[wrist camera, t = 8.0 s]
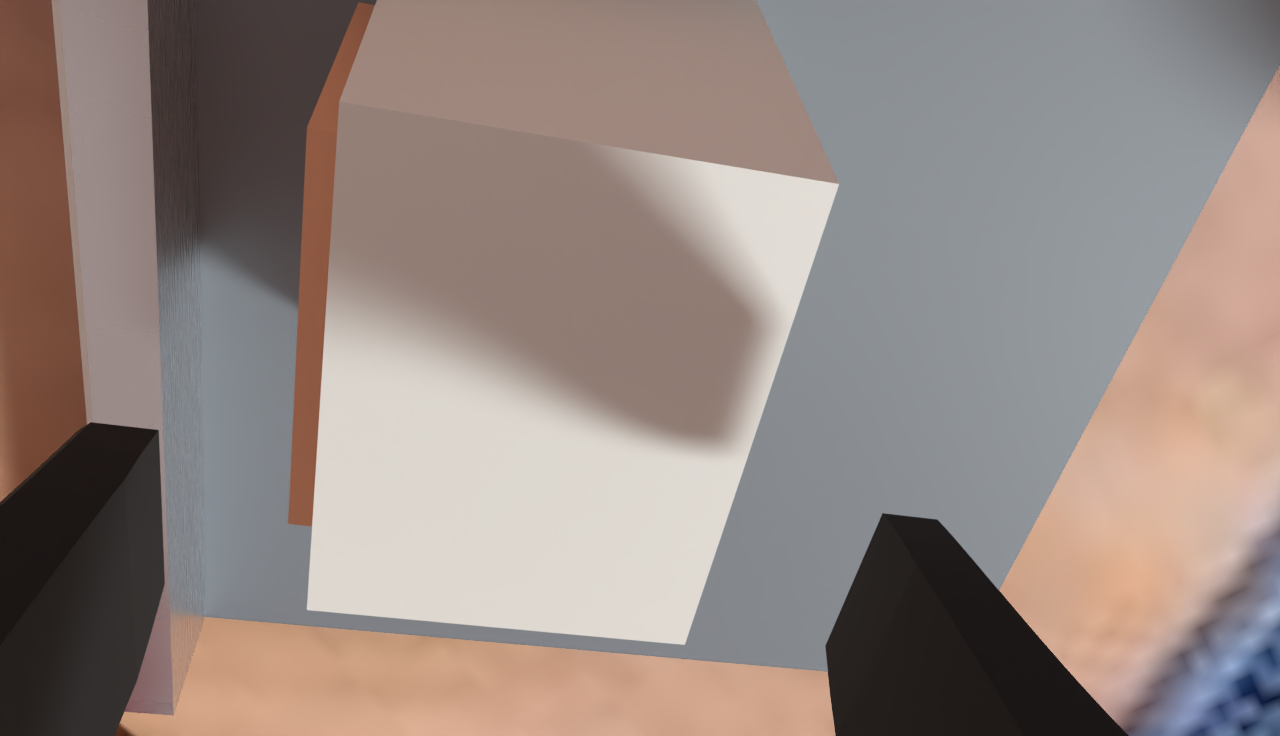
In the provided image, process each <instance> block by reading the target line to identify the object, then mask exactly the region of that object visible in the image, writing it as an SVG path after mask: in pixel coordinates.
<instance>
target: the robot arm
mask: <svg viewBox="0 0 1280 736" xmlns="http://www.w3.org/2000/svg"><path fill="white" fill-rule="evenodd" d="M164 585H165V574H164V549H163V524H162V498H161V473H160V448H159V430H154V429H146V428H137V427H128V426H120V425H111V424H102V423H94V422H90V423H89V424H87V425H86V426H84V427H83V428H81V429H80V430H78V431H77V432H76V433H75V434H74V435H73V436H72V437H71V438H70V439H69V440H68V441H67V442H65V443H64V444H63V445H62V446H61V447H60V448H59V449H58V450H57V451H56V452H55V453H54V454H53V455H51V456H50V457H49V458H48V459H47V460H46V461H45V462H44V463H43V464H42V465H41V466H40V467H39V468H37V469H36V470H35V471H34V472H33V473H32V474H31V475H30V476H29V477H28V478H27V479H26V480H24V481H23V482H22V483H21V484H20V485H19V486H18V487H17V488H16V489H15V490H13V491H12V492H11V493H10V494H9V495H8V496H7V497H6V498H4V499H3V500H2V501H1V502H0V736H114V735H115V732H116V730H117V728H118V725H119V723H120V721H121V718H122V716H123V713H124V711H125V709H126V706H127V704H128V701H129V699H130V697H131V694H132V692H133V689H134V687H135V684H136V682H137V679H138V676H139V672H140V669H141V666H142V662H143V659H144V656H145V652H146V649H147V646H148V642H149V639H150V635H151V632H152V628H153V625H154V621H155V617H156V614H157V610H158V607H159V603H160V599H161V596H162V592H163V589H164ZM825 648H826V657H827V667H828V677H829V686H830V696H831V703H832V711H833V718H834V726H835V733H836V736H1128V735H1127V734H1126V733H1125V732H1124V731H1123V730H1122V728H1121V727H1120V726H1119V725H1118V724H1117V723H1116V722H1115V721H1114V720H1113V719H1112V718H1111V717H1110V716H1109V715H1108V714H1107V713H1106V712H1105V711H1104V710H1103V709H1102V707H1101V706H1100V705H1099V704H1098V703H1097V702H1096V701H1095V700H1094V699H1093V698H1092V697H1091V696H1090V694H1089V693H1088V692H1087V691H1086V690H1085V689H1084V688H1083V687H1082V686H1081V685H1080V684H1079V682H1078V681H1077V680H1076V679H1075V678H1074V677H1073V676H1072V675H1071V673H1070V672H1069V671H1068V670H1067V669H1066V668H1065V667H1064V666H1063V664H1062V663H1061V662H1060V661H1059V660H1058V659H1057V658H1056V657H1055V655H1054V654H1053V653H1052V652H1051V651H1050V650H1049V649H1048V647H1047V646H1046V645H1045V644H1044V643H1043V642H1042V640H1041V639H1040V638H1039V637H1038V636H1037V635H1036V634H1035V632H1034V631H1033V630H1032V629H1031V628H1030V627H1029V625H1028V624H1027V623H1026V622H1025V621H1024V620H1023V618H1022V617H1021V616H1020V615H1019V614H1018V612H1017V611H1016V610H1015V609H1014V608H1013V607H1012V605H1011V604H1010V603H1009V602H1008V601H1007V599H1006V598H1005V597H1004V596H1003V595H1002V594H1001V592H1000V591H999V590H998V589H997V588H996V586H995V585H994V584H993V583H992V582H991V581H990V579H989V578H988V577H987V576H986V575H985V573H984V572H983V571H982V570H981V569H980V567H979V566H978V565H977V564H976V563H975V562H974V560H973V559H972V558H971V557H970V556H969V554H968V553H967V552H966V551H965V550H964V549H963V547H962V546H961V545H960V544H959V543H958V542H957V541H956V539H955V538H954V537H953V536H952V535H951V534H950V533H949V532H948V530H947V529H946V528H945V527H944V526H943V525H942V524H941V523H940V522H939V521H938V520H937V519H928V518H920V517H911V516H902V515H894V514H885V513H882V516H881V518H880V520H879V523H878V525H877V527H876V530H875V532H874V534H873V537H872V539H871V541H870V544H869V546H868V548H867V550H866V553H865V555H864V557H863V560H862V562H861V564H860V567H859V569H858V571H857V574H856V576H855V578H854V581H853V583H852V585H851V588H850V590H849V592H848V595H847V597H846V599H845V601H844V604H843V606H842V608H841V611H840V613H839V615H838V618H837V620H836V622H835V625H834V627H833V629H832V632H831V634H830V636H829V639H828V641H827V643H826V646H825Z"/></svg>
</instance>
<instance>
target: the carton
mask: <svg viewBox="0 0 1280 736" xmlns="http://www.w3.org/2000/svg"><path fill="white" fill-rule="evenodd" d="M838 186H839V182H838V180H837V178H836V176H835V174H834V171H833V169H832V167H831V165H830V163H829V160H828V158H827V156H826V154H825V151H824V149H823V147H822V145H821V143H820V140H819V138H818V136H817V134H816V131H815V129H814V127H813V125H812V123H811V120H810V118H809V116H808V114H807V112H806V109H805V107H804V105H803V103H802V100H801V98H800V96H799V94H798V92H797V89H796V87H795V85H794V83H793V80H792V78H791V76H790V74H789V72H788V69H787V67H786V65H785V63H784V60H783V58H782V56H781V54H780V52H779V49H778V47H777V45H776V43H775V41H774V38H773V36H772V34H771V32H770V29H769V27H768V25H767V23H766V21H765V18H764V16H763V14H762V12H761V9H760V7H759V5H758V3H757V1H756V0H377V1H376V4H375V5H371V4H365V3H360V2H358V5H357V7H356V9H355V12H354V14H353V17H352V19H351V22H350V24H349V27H348V29H347V31H346V34H345V36H344V39H343V41H342V44H341V46H340V48H339V51H338V53H337V56H336V58H335V61H334V63H333V65H332V68H331V70H330V73H329V75H328V78H327V80H326V82H325V85H324V87H323V90H322V92H321V95H320V97H319V100H318V102H317V104H316V107H315V109H314V112H313V114H312V117H311V119H310V121H309V124H308V126H307V137H306V157H305V178H304V199H303V220H302V241H301V262H300V283H299V304H298V325H297V346H296V367H295V388H294V409H293V429H292V450H291V471H290V492H289V513H288V524H293V525H302V526H312V536H311V551H310V567H309V583H308V599H307V610H312V611H323V612H333V613H344V614H355V615H366V616H377V617H388V618H398V619H409V620H420V621H431V622H442V623H453V624H463V625H474V626H485V627H496V628H507V629H518V630H528V631H539V632H550V633H561V634H572V635H583V636H593V637H604V638H615V639H626V640H637V641H648V642H658V643H669V644H680V645H685V643H686V640H687V637H688V634H689V631H690V628H691V625H692V622H693V619H694V616H695V613H696V610H697V607H698V604H699V601H700V598H701V595H702V592H703V589H704V586H705V583H706V580H707V577H708V574H709V571H710V568H711V565H712V562H713V559H714V556H715V553H716V550H717V547H718V544H719V541H720V538H721V535H722V532H723V529H724V526H725V523H726V520H727V517H728V514H729V512H730V509H731V506H732V503H733V500H734V497H735V494H736V491H737V488H738V485H739V482H740V479H741V476H742V473H743V470H744V467H745V464H746V461H747V458H748V455H749V452H750V449H751V446H752V443H753V440H754V437H755V434H756V431H757V428H758V425H759V422H760V419H761V416H762V413H763V410H764V407H765V404H766V401H767V398H768V395H769V392H770V389H771V386H772V383H773V380H774V377H775V374H776V371H777V368H778V365H779V362H780V359H781V356H782V353H783V350H784V347H785V344H786V341H787V338H788V335H789V332H790V330H791V327H792V324H793V321H794V318H795V315H796V312H797V309H798V306H799V303H800V300H801V297H802V294H803V291H804V288H805V285H806V282H807V279H808V276H809V273H810V270H811V267H812V264H813V261H814V258H815V255H816V252H817V249H818V246H819V243H820V240H821V237H822V234H823V231H824V228H825V225H826V222H827V219H828V216H829V213H830V210H831V207H832V204H833V201H834V198H835V195H836V192H837V189H838Z"/></svg>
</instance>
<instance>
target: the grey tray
mask: <svg viewBox="0 0 1280 736" xmlns="http://www.w3.org/2000/svg"><path fill="white" fill-rule="evenodd" d="M376 1H377V0H52V12H53V24H54V36H55V48H56V60H57V72H58V84H59V96H60V108H61V120H62V132H63V144H64V156H65V168H66V180H67V192H68V204H69V216H70V228H71V239H72V251H73V263H74V275H75V287H76V299H77V311H78V323H79V335H80V347H81V359H82V371H83V383H84V395H85V407H86V419H87V424H89V423H90V422H94V423H102V424H111V425H120V426H128V427H137V428H146V429H154V430H159V448H160V473H161V498H162V524H163V549H164V574H165V585H164V589H163V592H162V596H161V599H160V603H159V607H158V610H157V614H156V617H155V621H154V625H153V628H152V632H151V635H150V639H149V642H148V646H147V649H146V652H145V656H144V659H143V662H142V666H141V669H140V672H139V676H138V679H137V682H136V684H135V687H134V689H133V692H132V694H131V697H130V699H129V701H128V704H127V706H126V709H125V711H124V712H136V713H150V714H163V715H174V712H175V709H176V706H177V703H178V700H179V697H180V694H181V690H182V687H183V684H184V681H185V678H186V675H187V672H188V669H189V665H190V662H191V659H192V656H193V653H194V650H195V647H196V643H197V640H198V637H199V634H200V631H201V628H202V625H203V622H204V618H205V617H213V618H224V619H236V620H247V621H258V622H270V623H281V624H292V625H304V626H315V627H327V628H338V629H349V630H361V631H372V632H383V633H395V634H406V635H418V636H429V637H440V638H452V639H463V640H475V641H486V642H497V643H509V644H520V645H531V646H543V647H554V648H566V649H577V650H588V651H600V652H611V653H622V654H634V655H645V656H657V657H668V658H679V659H691V660H702V661H714V662H725V663H736V664H748V665H759V666H770V667H782V668H793V669H805V670H816V671H827V672H828V667H827V657H826V648H825V646H826V643H827V641H828V639H829V636H830V634H831V632H832V629H833V627H834V625H835V622H836V620H837V618H838V615H839V613H840V611H841V608H842V606H843V604H844V601H845V599H846V597H847V595H848V592H849V590H850V588H851V585H852V583H853V581H854V578H855V576H856V574H857V571H858V569H859V567H860V564H861V562H862V560H863V557H864V555H865V553H866V550H867V548H868V546H869V544H870V541H871V539H872V537H873V534H874V532H875V530H876V527H877V525H878V523H879V520H880V518H881V516H882V513H885V514H894V515H902V516H911V517H920V518H928V519H937V520H938V521H939V522H940V523H941V524H942V525H943V526H944V527H945V528H946V529H947V530H948V532H949V533H950V534H951V535H952V536H953V537H954V538H955V539H956V541H957V542H958V543H959V544H960V545H961V546H962V547H963V549H964V550H965V551H966V552H967V553H968V554H969V556H970V557H971V558H972V559H973V560H974V562H975V563H976V564H977V565H978V566H979V567H980V569H981V570H982V571H983V572H984V573H985V575H986V576H987V577H988V578H989V579H990V581H991V582H992V583H993V584H994V585H995V586H996V588H997V589H998V590H999V589H1000V588H1001V586H1002V584H1003V582H1004V580H1005V578H1006V576H1007V574H1008V573H1009V571H1010V569H1011V567H1012V565H1013V563H1014V561H1015V559H1016V558H1017V556H1018V554H1019V552H1020V550H1021V548H1022V546H1023V544H1024V543H1025V541H1026V539H1027V537H1028V535H1029V533H1030V531H1031V529H1032V528H1033V526H1034V524H1035V522H1036V520H1037V518H1038V516H1039V514H1040V513H1041V511H1042V509H1043V507H1044V505H1045V503H1046V501H1047V499H1048V498H1049V496H1050V494H1051V492H1052V490H1053V488H1054V486H1055V484H1056V483H1057V481H1058V479H1059V477H1060V475H1061V473H1062V471H1063V470H1064V468H1065V466H1066V464H1067V462H1068V460H1069V458H1070V456H1071V455H1072V453H1073V451H1074V449H1075V447H1076V445H1077V443H1078V441H1079V440H1080V438H1081V436H1082V434H1083V432H1084V430H1085V428H1086V426H1087V425H1088V423H1089V421H1090V419H1091V417H1092V415H1093V413H1094V411H1095V410H1096V408H1097V406H1098V404H1099V402H1100V400H1101V398H1102V396H1103V395H1104V393H1105V391H1106V389H1107V387H1108V385H1109V383H1110V381H1111V380H1112V378H1113V376H1114V374H1115V372H1116V370H1117V368H1118V366H1119V365H1120V363H1121V361H1122V359H1123V357H1124V355H1125V353H1126V351H1127V350H1128V348H1129V346H1130V344H1131V342H1132V340H1133V338H1134V336H1135V335H1136V333H1137V331H1138V329H1139V327H1140V325H1141V323H1142V322H1143V320H1144V318H1145V316H1146V314H1147V312H1148V310H1149V308H1150V307H1151V305H1152V303H1153V301H1154V299H1155V297H1156V295H1157V293H1158V292H1159V290H1160V288H1161V286H1162V284H1163V282H1164V280H1165V278H1166V277H1167V275H1168V273H1169V271H1170V269H1171V267H1172V265H1173V263H1174V262H1175V260H1176V258H1177V256H1178V254H1179V252H1180V250H1181V248H1182V247H1183V245H1184V243H1185V241H1186V239H1187V237H1188V235H1189V233H1190V232H1191V230H1192V228H1193V226H1194V224H1195V222H1196V220H1197V218H1198V217H1199V215H1200V213H1201V211H1202V209H1203V207H1204V205H1205V203H1206V202H1207V200H1208V198H1209V196H1210V194H1211V192H1212V190H1213V189H1214V187H1215V185H1216V183H1217V181H1218V179H1219V177H1220V175H1221V174H1222V172H1223V170H1224V168H1225V166H1226V164H1227V162H1228V160H1229V159H1230V157H1231V155H1232V153H1233V151H1234V149H1235V147H1236V145H1237V144H1238V142H1239V140H1240V138H1241V136H1242V134H1243V132H1244V130H1245V129H1246V127H1247V125H1248V123H1249V121H1250V119H1251V117H1252V115H1253V114H1254V112H1255V110H1256V108H1257V106H1258V104H1259V102H1260V100H1261V99H1262V97H1263V95H1264V93H1265V91H1266V89H1267V87H1268V85H1269V84H1270V82H1271V80H1272V78H1273V76H1274V74H1275V72H1276V70H1277V69H1278V67H1279V65H1280V0H756V1H757V3H758V5H759V7H760V9H761V12H762V14H763V16H764V18H765V21H766V23H767V25H768V27H769V29H770V32H771V34H772V36H773V38H774V41H775V43H776V45H777V47H778V49H779V52H780V54H781V56H782V58H783V60H784V63H785V65H786V67H787V69H788V72H789V74H790V76H791V78H792V80H793V83H794V85H795V87H796V89H797V92H798V94H799V96H800V98H801V100H802V103H803V105H804V107H805V109H806V112H807V114H808V116H809V118H810V120H811V123H812V125H813V127H814V129H815V131H816V134H817V136H818V138H819V140H820V143H821V145H822V147H823V149H824V151H825V154H826V156H827V158H828V160H829V163H830V165H831V167H832V169H833V171H834V174H835V176H836V178H837V180H838V182H839V186H838V189H837V192H836V195H835V198H834V201H833V204H832V207H831V210H830V213H829V216H828V219H827V222H826V225H825V228H824V231H823V234H822V237H821V240H820V243H819V246H818V249H817V252H816V255H815V258H814V261H813V264H812V267H811V270H810V273H809V276H808V279H807V282H806V285H805V288H804V291H803V294H802V297H801V300H800V303H799V306H798V309H797V312H796V315H795V318H794V321H793V324H792V327H791V330H790V332H789V335H788V338H787V341H786V344H785V347H784V350H783V353H782V356H781V359H780V362H779V365H778V368H777V371H776V374H775V377H774V380H773V383H772V386H771V389H770V392H769V395H768V398H767V401H766V404H765V407H764V410H763V413H762V416H761V419H760V422H759V425H758V428H757V431H756V434H755V437H754V440H753V443H752V446H751V449H750V452H749V455H748V458H747V461H746V464H745V467H744V470H743V473H742V476H741V479H740V482H739V485H738V488H737V491H736V494H735V497H734V500H733V503H732V506H731V509H730V512H729V514H728V517H727V520H726V523H725V526H724V529H723V532H722V535H721V538H720V541H719V544H718V547H717V550H716V553H715V556H714V559H713V562H712V565H711V568H710V571H709V574H708V577H707V580H706V583H705V586H704V589H703V592H702V595H701V598H700V601H699V604H698V607H697V610H696V613H695V616H694V619H693V622H692V625H691V628H690V631H689V634H688V637H687V640H686V643H685V645H680V644H669V643H658V642H648V641H637V640H626V639H615V638H604V637H593V636H583V635H572V634H561V633H550V632H539V631H528V630H518V629H507V628H496V627H485V626H474V625H463V624H453V623H442V622H431V621H420V620H409V619H398V618H388V617H377V616H366V615H355V614H344V613H333V612H323V611H312V610H307V599H308V583H309V567H310V551H311V536H312V526H302V525H293V524H288V513H289V492H290V471H291V450H292V429H293V409H294V388H295V367H296V346H297V325H298V304H299V283H300V262H301V241H302V220H303V199H304V178H305V157H306V137H307V126H308V124H309V121H310V119H311V117H312V114H313V112H314V109H315V107H316V104H317V102H318V100H319V97H320V95H321V92H322V90H323V87H324V85H325V82H326V80H327V78H328V75H329V73H330V70H331V68H332V65H333V63H334V61H335V58H336V56H337V53H338V51H339V48H340V46H341V44H342V41H343V39H344V36H345V34H346V31H347V29H348V27H349V24H350V22H351V19H352V17H353V14H354V12H355V9H356V7H357V5H358V2H360V3H365V4H371V5H375V4H376Z"/></svg>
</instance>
